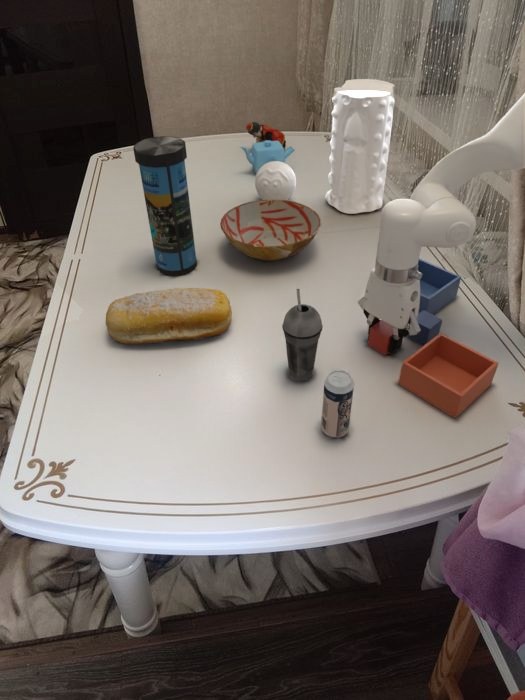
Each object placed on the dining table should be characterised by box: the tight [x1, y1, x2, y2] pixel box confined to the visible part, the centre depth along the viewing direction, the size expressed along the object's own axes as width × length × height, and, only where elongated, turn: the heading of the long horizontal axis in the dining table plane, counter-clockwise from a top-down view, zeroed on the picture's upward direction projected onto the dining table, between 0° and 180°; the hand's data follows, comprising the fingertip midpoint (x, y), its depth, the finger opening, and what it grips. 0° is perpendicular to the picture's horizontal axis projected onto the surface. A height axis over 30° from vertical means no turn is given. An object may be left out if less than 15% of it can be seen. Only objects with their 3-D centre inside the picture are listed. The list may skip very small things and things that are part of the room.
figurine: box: [245, 121, 287, 149], centre depth 190 cm, size 10×10×15 cm
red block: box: [367, 319, 400, 356], centre depth 110 cm, size 4×4×4 cm
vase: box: [325, 78, 396, 215], centre depth 150 cm, size 17×16×32 cm
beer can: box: [320, 370, 355, 438], centre depth 91 cm, size 5×5×12 cm
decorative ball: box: [254, 161, 297, 201], centre depth 158 cm, size 12×12×12 cm
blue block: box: [407, 310, 443, 346], centre depth 111 cm, size 4×4×4 cm
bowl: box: [219, 199, 322, 261], centre depth 138 cm, size 25×25×8 cm
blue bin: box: [418, 257, 462, 315], centre depth 122 cm, size 12×12×6 cm
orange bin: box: [397, 332, 500, 419], centre depth 100 cm, size 12×12×6 cm
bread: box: [105, 287, 233, 345], centre depth 114 cm, size 13×26×8 cm, turn 98°
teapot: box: [239, 140, 295, 175], centre depth 175 cm, size 18×14×10 cm
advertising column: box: [132, 135, 198, 277], centre depth 126 cm, size 11×11×30 cm
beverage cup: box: [282, 288, 324, 382], centre depth 99 cm, size 7×7×20 cm
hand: (383, 343), depth 111 cm, fingers closed on red block, 4 cm apart
